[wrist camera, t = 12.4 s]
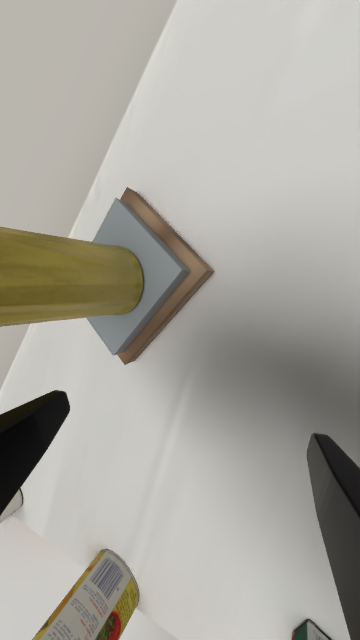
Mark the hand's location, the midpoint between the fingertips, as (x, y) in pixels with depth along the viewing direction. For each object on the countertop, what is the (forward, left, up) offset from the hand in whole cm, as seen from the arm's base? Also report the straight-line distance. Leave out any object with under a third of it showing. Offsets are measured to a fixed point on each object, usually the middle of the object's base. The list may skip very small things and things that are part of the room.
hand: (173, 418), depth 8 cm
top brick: (+12, +4, -10) cm, 16 cm away
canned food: (-13, +37, -12) cm, 41 cm away
